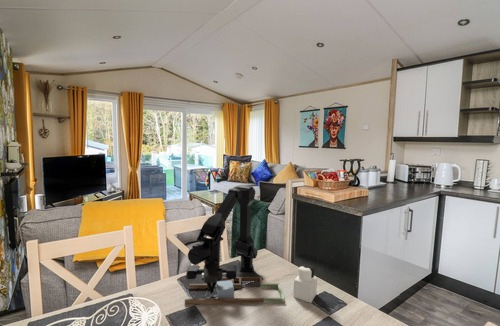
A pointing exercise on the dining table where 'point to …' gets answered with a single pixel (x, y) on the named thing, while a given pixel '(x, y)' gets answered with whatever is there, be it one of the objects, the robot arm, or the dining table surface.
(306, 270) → the medicine bottle
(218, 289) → the block
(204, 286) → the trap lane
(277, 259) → the dining table surface
